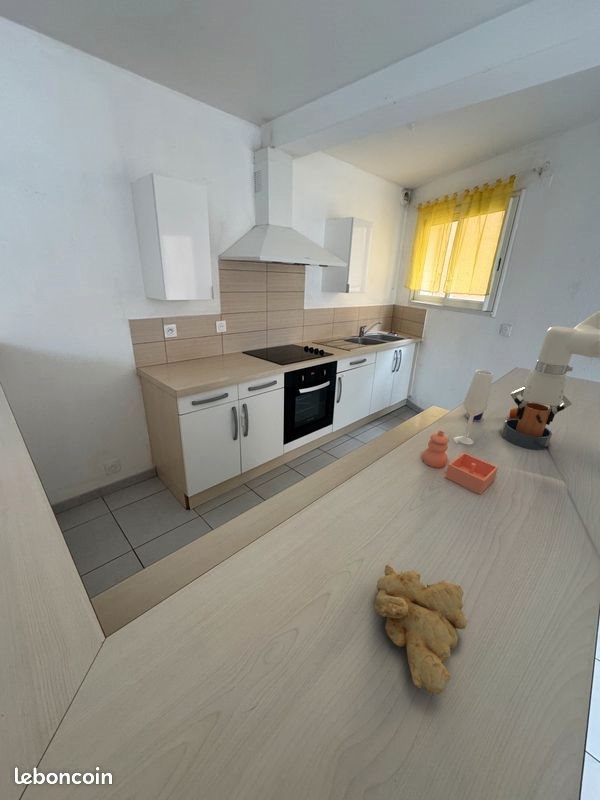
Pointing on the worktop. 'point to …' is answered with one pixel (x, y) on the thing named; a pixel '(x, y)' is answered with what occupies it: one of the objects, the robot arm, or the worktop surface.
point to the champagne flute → (476, 400)
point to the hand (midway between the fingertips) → (532, 420)
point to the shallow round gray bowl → (524, 436)
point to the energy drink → (475, 417)
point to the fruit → (513, 413)
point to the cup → (533, 419)
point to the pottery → (459, 465)
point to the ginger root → (421, 623)
